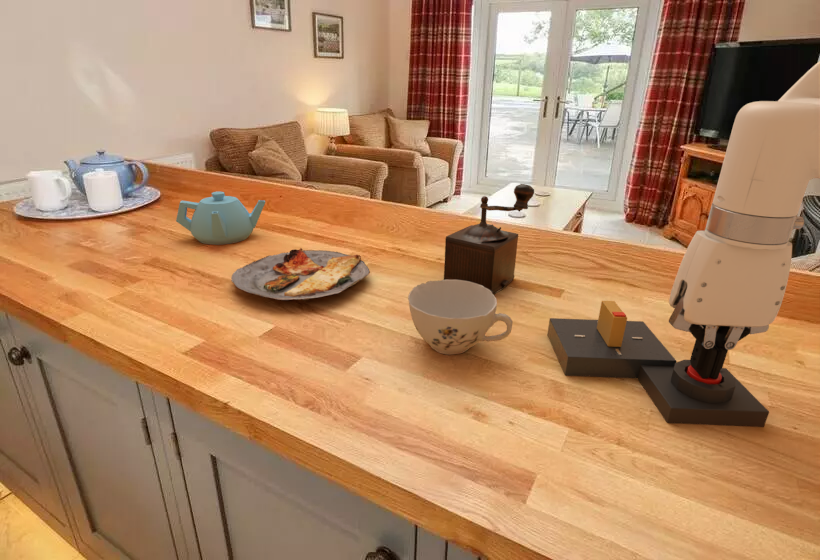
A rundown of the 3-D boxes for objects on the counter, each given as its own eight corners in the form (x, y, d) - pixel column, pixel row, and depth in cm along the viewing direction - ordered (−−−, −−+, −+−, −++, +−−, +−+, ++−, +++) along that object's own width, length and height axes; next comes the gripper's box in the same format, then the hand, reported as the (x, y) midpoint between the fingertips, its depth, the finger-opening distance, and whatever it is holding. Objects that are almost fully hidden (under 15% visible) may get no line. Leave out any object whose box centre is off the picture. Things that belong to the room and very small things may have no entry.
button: (708, 376, 61) (712, 364, 61) (724, 393, 58) (728, 381, 57) (679, 375, 61) (682, 363, 61) (693, 392, 58) (697, 380, 57)
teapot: (228, 224, 126) (223, 182, 122) (271, 233, 119) (266, 190, 115) (175, 239, 114) (167, 194, 110) (219, 251, 107) (212, 203, 103)
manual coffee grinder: (494, 298, 88) (503, 199, 81) (441, 283, 93) (446, 189, 86) (528, 272, 99) (539, 183, 92) (480, 260, 105) (486, 176, 98)
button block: (721, 381, 65) (729, 355, 63) (764, 427, 56) (774, 398, 55) (637, 378, 65) (643, 352, 63) (667, 423, 57) (675, 394, 55)
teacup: (392, 355, 69) (392, 304, 66) (426, 318, 80) (428, 273, 77) (495, 382, 64) (501, 328, 61) (518, 339, 74) (524, 291, 71)
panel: (639, 338, 75) (643, 320, 74) (671, 380, 65) (677, 359, 64) (547, 335, 75) (549, 317, 74) (564, 376, 65) (568, 355, 64)
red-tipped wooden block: (596, 328, 71) (602, 298, 70) (608, 328, 71) (614, 299, 70) (607, 346, 67) (614, 315, 65) (621, 347, 67) (628, 316, 65)
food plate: (294, 252, 108) (293, 237, 106) (388, 270, 99) (388, 254, 97) (207, 294, 87) (204, 275, 86) (316, 322, 78) (315, 302, 77)
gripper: (795, 218, 55) (748, 358, 62) (661, 213, 56) (629, 353, 63) (847, 239, 48) (787, 393, 55) (693, 233, 49) (653, 388, 56)
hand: (703, 372), depth 59 cm, fingers closed
